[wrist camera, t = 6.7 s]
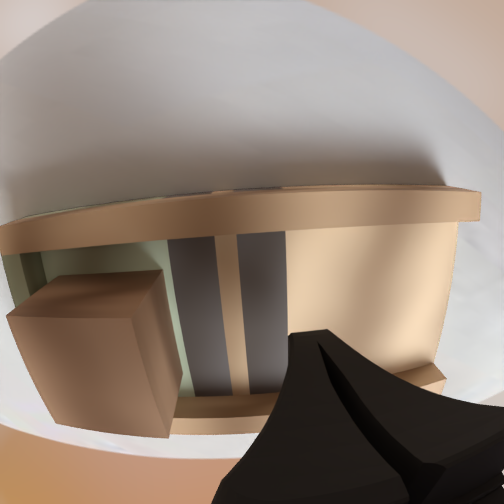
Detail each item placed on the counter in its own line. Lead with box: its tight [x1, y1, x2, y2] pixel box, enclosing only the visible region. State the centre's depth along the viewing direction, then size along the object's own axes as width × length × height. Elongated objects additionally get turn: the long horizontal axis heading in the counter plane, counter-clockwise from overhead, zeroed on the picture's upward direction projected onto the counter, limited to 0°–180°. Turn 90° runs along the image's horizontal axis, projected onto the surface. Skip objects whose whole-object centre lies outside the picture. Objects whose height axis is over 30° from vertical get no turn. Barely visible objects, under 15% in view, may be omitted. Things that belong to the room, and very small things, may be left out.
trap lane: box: [0, 184, 481, 435], centre depth 12 cm, size 20×10×2 cm, turn 94°
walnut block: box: [6, 269, 183, 438], centre depth 10 cm, size 5×5×4 cm
